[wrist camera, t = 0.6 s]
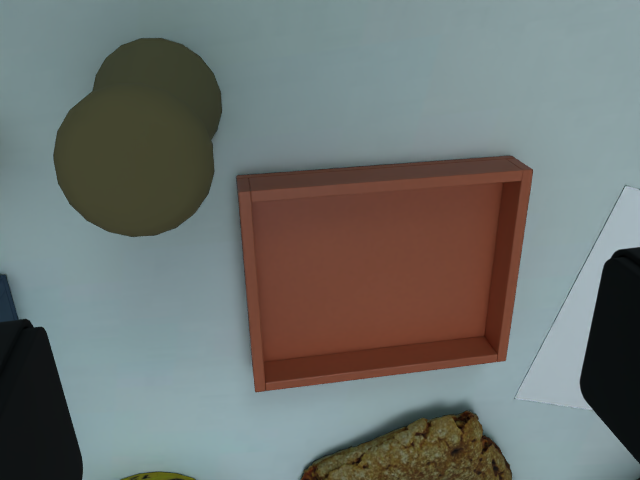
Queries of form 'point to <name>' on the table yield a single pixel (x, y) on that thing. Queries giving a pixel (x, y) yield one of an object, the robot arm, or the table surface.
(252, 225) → the terracotta tray
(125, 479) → the beverage can
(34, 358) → the robot arm
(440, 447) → the pastry
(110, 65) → the pepper shaker
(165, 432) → the table surface
